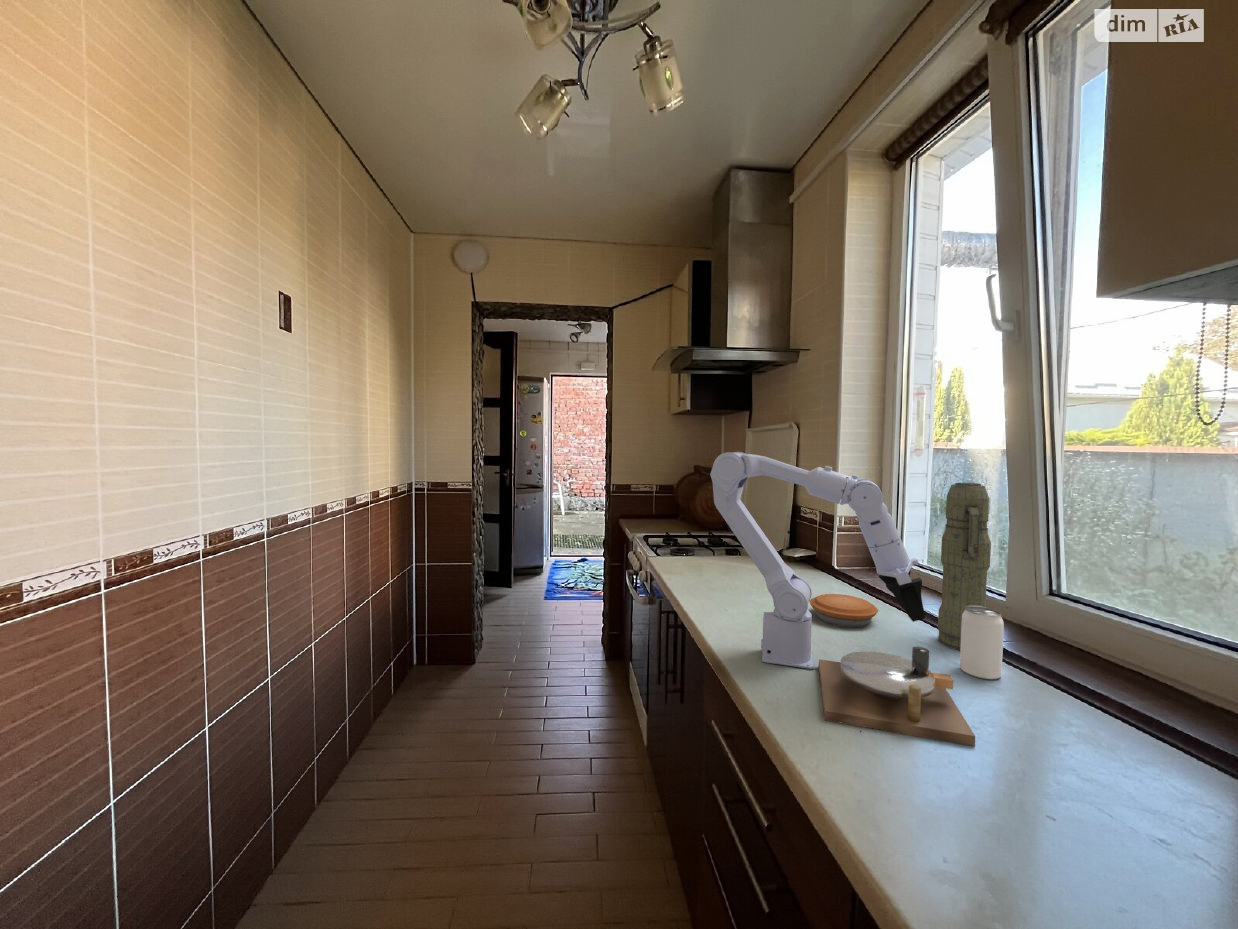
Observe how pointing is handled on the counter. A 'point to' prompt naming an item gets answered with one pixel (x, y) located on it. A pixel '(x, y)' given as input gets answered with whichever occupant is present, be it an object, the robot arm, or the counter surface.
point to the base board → (892, 709)
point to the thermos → (963, 558)
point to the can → (981, 642)
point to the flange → (893, 673)
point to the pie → (843, 610)
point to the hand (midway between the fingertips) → (913, 613)
